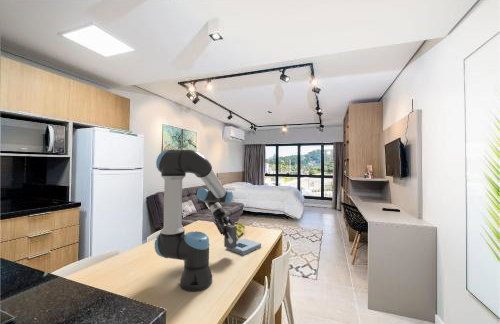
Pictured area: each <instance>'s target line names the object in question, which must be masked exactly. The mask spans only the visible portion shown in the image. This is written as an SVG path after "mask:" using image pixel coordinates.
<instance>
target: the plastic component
mask: <svg viewBox="0 0 500 324" xmlns="http://www.w3.org/2000/svg"><path fill="white" fill-rule="evenodd" d="M235 226H237V237H238V238H239V237H240V236H241V235H243V232H245V229H246V226H245V225H244V224H243V223H241V222H237V223H236V224H235Z"/></svg>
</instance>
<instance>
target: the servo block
mask: <svg viewBox="0 0 500 324" xmlns="http://www.w3.org/2000/svg"><path fill="white" fill-rule="evenodd" d="M224 225H225V224H224ZM234 225H235V224H234ZM234 225H230V224H228V225H225V228H226V231H227V232H228V233H229V235H230V236H231V238H232V240H233V242H232V243H231V244H230V243H229V241H228V239H226V237H225V235H224V240H223V244H224V245H223V246H224V247H223V248H226V247H227V248H230V249H233V248H236V240H237V226H236V225H235V226H234Z"/></svg>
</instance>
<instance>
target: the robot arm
mask: <svg viewBox="0 0 500 324" xmlns="http://www.w3.org/2000/svg"><path fill="white" fill-rule="evenodd" d="M155 164H156V169H157V170H158V172H160V174H161V175H160V176H161V178H162V179H164V182H163V183H164V186H163V187H164V188H163V189H164V193H163V195H164V197H163V228H161V230H160V232H159V233H158V235H157V236H156V239H155V240H154V250H155V251H154V252H155V253H156V254H157V255H158V256H159V257H161V258H165V259H172V260H180V261H183V265H184V267H183V271H182V274H181V276H180V279H179V282H180V283H179V286H180V288H181V289H182V290H183V291H187V292H199V291H202V290H203V291H204V290H205V289H208V288H209V287H210V286H211V285H212V283H213V275H212V271H211V267H210V264H209V263H210V262H209V261H210V239H209V236H208V235H207V234H206V233H204V232H202V231H188V232H186V230H185V229H186V228H184V227H183V226H182V225H183V224H182V223H183V222H182V221H183V219H182V217H183V216H182V214H183V180H184V178H186V176H187V175H186V174H188V173H189V174H194V175H195V176H196V177H197V178H199V179H201V181H202V182H203V183H204V185H205V186H206V187H207V188H208V189H207V188H204V187H202V188H198V190H197V191H196V198H197V199H198V200H200V201H201V202H203V203H205V204H206V205H207V206H208V208H209V210H210V212H211V214H212V216H213V218H214V220H213V224H214V225H215V226H216V228H217V230H218V232H219V233H220V235H221V236H224V235H225V237H226V239H228V241H229V243H230V244H231V243H232V242H233V240H232V238H231V236H230V235H229V233H228V232H227V231H226V228H225V225H228V224H230V225H234V226H236V224H234V221H233V220H232V218H231V216H230V215H229V216H227V215H226V212H225V210H224V209H223V207H222V205H221V203H222V204H230V203H232V201H233V197H234V196H233V192H232V191H231V190H226V188H225V187H224V185H223V184H222V182H221V181H220V179H219V178H218V176H217V174H216V173H215V171H214V170H213V166H212V164H211V162H210V161H209V159H208V158H206V157H205V156H204V155H203V154H201V153H200V152H198V151H196V150H194V149H167V150H166V149H164V150H162V151H161V152H160V153H159V154H158V156H157V157H156V161H155ZM185 232H186V233H185ZM238 240H240V238H239V237H237V240H236V242H237V241H238Z"/></svg>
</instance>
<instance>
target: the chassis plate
mask: <svg viewBox="0 0 500 324" xmlns="http://www.w3.org/2000/svg"><path fill="white" fill-rule="evenodd" d="M259 247H260V248H262V243H261V242H258V241H254V240H251V239H248V238H241V239H239V240H238V241H237V242H236V248H233V249H230V248H227V247H225V248H226V249H227V250H229V251H232V252H235V253H236V254H240V255H242V256H244V255H248V254H249V253H252V252H253V250H254V251H256V250H258V249H260V248H259ZM257 248H258V249H257ZM255 249H256V250H255Z"/></svg>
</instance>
